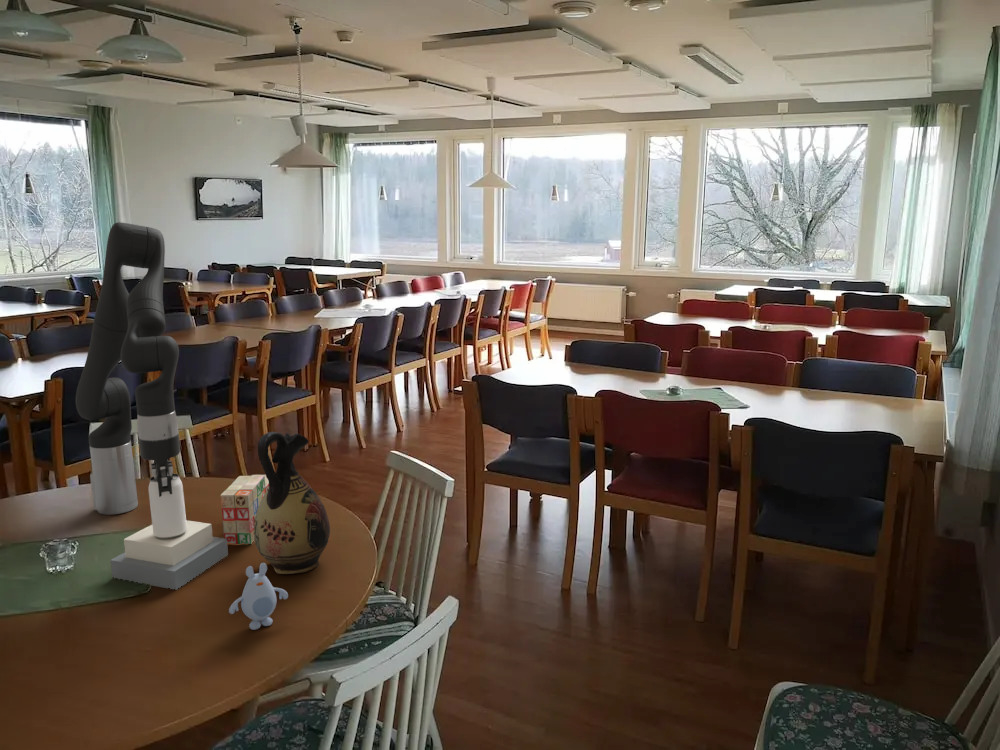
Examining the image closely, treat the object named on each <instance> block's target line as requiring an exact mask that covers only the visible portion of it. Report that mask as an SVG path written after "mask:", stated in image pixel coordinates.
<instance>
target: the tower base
mask: <svg viewBox="0 0 1000 750" xmlns="http://www.w3.org/2000/svg"><path fill="white" fill-rule="evenodd" d="M186 523H187V530H186V531H185V533H183V534H181V535H179V536H176V537H171V538H157V537H156V536H155V535H154V534H153V526H152V524H150V525H148V526H147V527H144V528H142V529H141V530H138V531H137V532H134V533H133V534H131V535H129V536H126V537H125V538H124V539H123V544H124V552H123V553H121V554H119V555H117V556H115V557H113V558H111V559H110V565H111V566H110V567H111V575H112V578H113V577H114V578H113V579H115V578H119V579H118V580H120V579H123V580H122V581H125V580H129V581H128V582H131V581H134V582H133V583H136V582H138V583H137V584H142V583H146V584H145V585H147V584H150V585H149V586H153V587H158V588H164V589H168V588H170V589H169V590H174V589H175V590H176V591H177V590H179V589H180V588H182V587H184V586H185V585H186V584H188V583H189V582H191V581H192V580H194V579H195V578H197V577H198V576H200V575H202V574H203V573H204V571H205V570H206V569H208V568H209V569H211V568H212V567H213V566H212V565H214V564H215V563H217V562H218V561H220V560H221V559H223V558H224V557H226V556H227V555H228V556H229V550H228V545H227V539H225V538H224V537H218V536H213V527H212V526H213V525H212V523H208V522H201V521H194V520H187V519H186ZM228 556H227V557H228ZM227 557H226V558H227ZM224 559H225V558H224ZM224 559H223V560H224ZM221 561H222V560H221ZM221 561H220V562H221ZM218 563H219V562H218ZM218 563H217V564H218ZM215 565H216V564H215ZM215 565H214V566H215ZM211 566H212V567H211ZM210 567H211V568H210ZM209 569H208V570H209ZM206 571H207V570H206ZM206 571H205V572H206ZM202 572H203V573H202ZM199 574H200V575H199ZM196 576H197V577H196ZM193 578H194V579H193ZM190 580H191V581H190ZM187 582H188V583H187ZM181 586H182V587H181ZM178 588H179V589H178ZM175 590H174V591H175Z"/></svg>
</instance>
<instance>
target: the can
mask: <svg viewBox="0 0 1000 750" xmlns="http://www.w3.org/2000/svg"><path fill="white" fill-rule="evenodd" d="M172 477H173V479H172V480H171V486H172V494H170V492H169V491H166V492H162V493H161V494H162V496H161V497H159V489H158V482H157V481H154V476H152V477H150V478H149V484H148V498H149V506H150V507H149V508H150V514H151V515H150V516H151V525H152V526H153V534H154V535H155V536H156V537H157V538H171V537H176V536H179V535H181V534H183V533H185V531H186V530H187V523H186V520H187V516H186V506H185V494H184V486H183V482H182V480H181V478H180V474H178V473H172Z"/></svg>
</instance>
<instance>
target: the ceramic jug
mask: <svg viewBox="0 0 1000 750" xmlns="http://www.w3.org/2000/svg"><path fill="white" fill-rule="evenodd" d="M309 441H310V440H309V439H308V438H307V437H306V436H303V435H302V434H299V433H295V434H293V435H291V434H290V433H288V432H286V433H285V434H284V435H283V433H281V432H278V431H277V432H276V431H268V432H266V433H265V434H262V436H261V437H260V438H259V440H258V443H257V455H258V460H259V462H260V464H261V466H262V469H263V471H264V475H266V478H267V479H268V481H269V487H268V489H267V490H266V493H265V495H264V496H263V498H262V500H261V502H260V505H259V507H258V510H257V512H256V517H255V524H254V539H255V541H254V544H255V547H256V549H257V550H258V552H259V554H260V556H262V557H263V558H264V559H265V560H266V561H268V563H269V564H270V565H271V566H272V567H273V569H274V571H275V573H276V574H279V575H293V574H303V573H306V572H310V571H312V570H313V569H316V568H318V567H319V566H320V563H319V559H320V557H321V555H322V553H323V552H324V551H325V549H326V548H327V546H328V542H329V538H330V535H331V534H330V533H331V526H330V525H331V524H330V519H329V517H328V512H327V511H326V507H325V505H324V503H323V502H322V500H321V499H320V497H319V495H318V494H317V493H316V492H315V490H314V489H313V488H312V486H311V485H310V483H308V481H306V479H304V478H303V476H301V475H300V473H299V472H298V471H297V470H296V466H295V464H294V462H293V460H294V457H295V456H296V455H297V453H299V452H300V451H301V449H303V448H304V447H305V446H307V445H308V444H309ZM273 443H276V445H277V446H276V449H275V451H274V453H273V457H272V459H271V458H270V455H269V448H270V446H271V445H272V444H273ZM273 463H274V464H277V467H276V471H275V468H274V465H273Z"/></svg>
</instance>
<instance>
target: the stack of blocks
mask: <svg viewBox="0 0 1000 750" xmlns="http://www.w3.org/2000/svg"><path fill="white" fill-rule="evenodd" d="M268 487H269V481H268V479H267V478H266V474H251V475H239V476H238V477H237V478H235V480H234V481H233V482H232V483H231V484H230V485H229V486H228V487H227V488H226V489H225V490H224V491H223V492H222V493H221V494H220V504H221V518H222V526H223V538H225V539H227V543H233V544H242V543H244V544H252V542H253V541H254V540H255V539H254V524H255V517H256V512H257V510H258V507H259V505H260V502H261V500H262V498H263V496H264V495H265V493H266V490H267V489H268ZM254 542H255V541H254ZM252 545H253V544H252Z"/></svg>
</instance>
